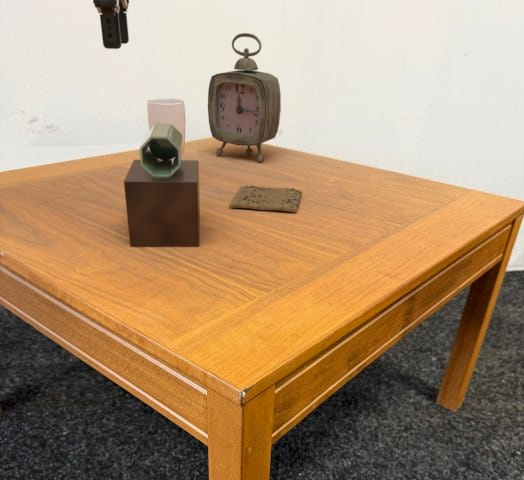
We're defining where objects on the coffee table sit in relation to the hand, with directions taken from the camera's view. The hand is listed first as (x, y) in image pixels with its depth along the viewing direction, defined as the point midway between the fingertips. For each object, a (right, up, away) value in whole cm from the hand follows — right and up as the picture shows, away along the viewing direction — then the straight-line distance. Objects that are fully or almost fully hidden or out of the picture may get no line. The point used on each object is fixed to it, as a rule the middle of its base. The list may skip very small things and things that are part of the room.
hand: (117, 45), depth 74 cm
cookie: (+20, -14, +27) cm, 36 cm away
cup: (+5, -14, +7) cm, 17 cm away
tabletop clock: (+16, +4, +54) cm, 57 cm away
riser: (+5, -23, +12) cm, 26 cm away
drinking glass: (+2, -9, +34) cm, 35 cm away
